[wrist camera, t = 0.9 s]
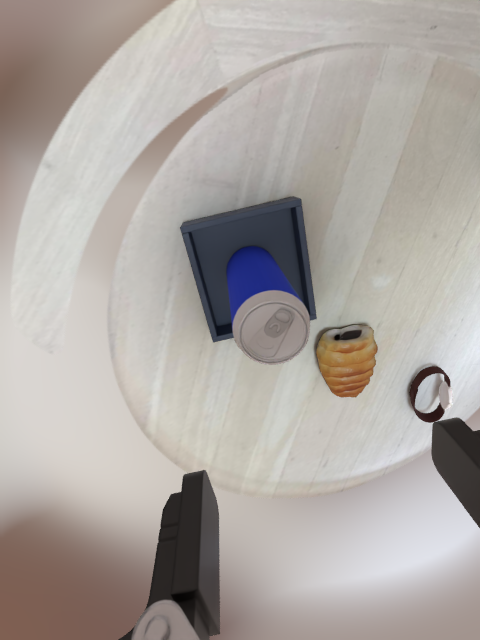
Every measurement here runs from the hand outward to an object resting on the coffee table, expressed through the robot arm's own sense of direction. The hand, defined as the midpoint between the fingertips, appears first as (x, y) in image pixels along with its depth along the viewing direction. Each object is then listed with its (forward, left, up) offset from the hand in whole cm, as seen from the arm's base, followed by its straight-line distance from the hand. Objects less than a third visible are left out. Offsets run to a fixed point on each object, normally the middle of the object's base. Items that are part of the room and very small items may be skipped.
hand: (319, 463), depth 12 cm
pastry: (+13, +9, -26) cm, 30 cm away
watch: (+21, +19, -26) cm, 38 cm away
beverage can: (0, 0, -25) cm, 25 cm away
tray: (0, 0, -26) cm, 26 cm away
